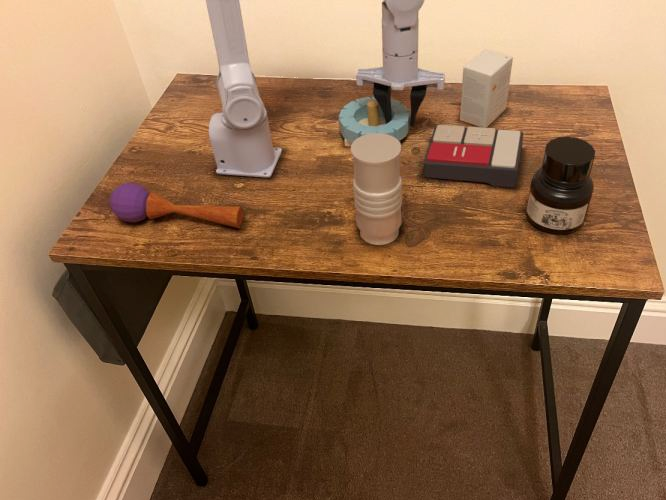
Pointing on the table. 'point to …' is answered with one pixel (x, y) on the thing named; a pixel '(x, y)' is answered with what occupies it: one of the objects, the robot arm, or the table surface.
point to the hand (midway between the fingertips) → (400, 122)
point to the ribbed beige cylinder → (377, 187)
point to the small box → (485, 88)
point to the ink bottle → (562, 186)
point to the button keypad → (474, 155)
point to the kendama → (166, 207)
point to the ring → (355, 130)
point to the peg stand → (371, 118)
